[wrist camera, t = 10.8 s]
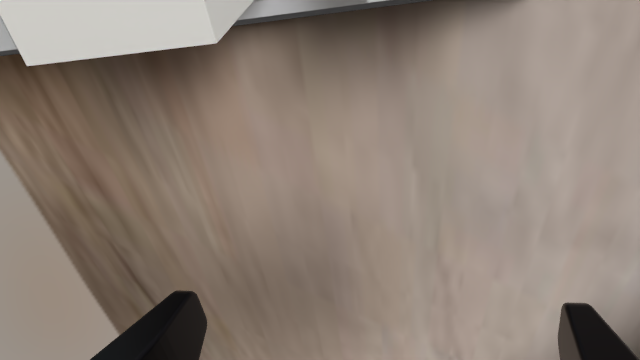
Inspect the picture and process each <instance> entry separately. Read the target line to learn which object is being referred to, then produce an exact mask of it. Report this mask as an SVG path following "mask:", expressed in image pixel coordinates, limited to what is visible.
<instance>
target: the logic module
mask: <svg viewBox="0 0 640 360" xmlns="http://www.w3.org/2000/svg"><path fill="white" fill-rule="evenodd" d="M253 1H254V0H0V16H1V17H2V19H3V21H4V23H5V25H6V27H7V29H8V31H9V33H10V35H11V37H12V39H13V40H14V42H15V44H16V46H17V48H18V50H19V52H20V54H21V56H22V58H23V60H24V62H25V64H26V65H27V66H34V65H42V64H50V63H58V62H67V61H75V60H83V59H92V58H100V57H108V56H116V55H125V54H133V53H141V52H150V51H158V50H166V49H174V48H183V47H191V46H199V45H207V44H216V43H218V41H219V40H220V39H221V38H222V37H223V36H224V34H225V33H226V32H227V31H228V30H229V29H230V28H231V26H232V25H233V24H234V23H235V22H236V21H237V19H238V18H239V17H240V16H241V15H242V14H243V12H244V11H245V10H246V9H247V8H248V7H249V6H250V4H251V3H252V2H253Z"/></svg>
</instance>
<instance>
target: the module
mask: <svg viewBox="0 0 640 360" xmlns="http://www.w3.org/2000/svg"><path fill="white" fill-rule="evenodd" d="M13 49H17V46H16V44H15V42H14V40H13V39H12V37H11V35H10V33H9V31H8V29H7V27H6V25H5V23H4V21H3V19H2V17H1V16H0V51H5V50H13Z"/></svg>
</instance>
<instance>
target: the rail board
mask: <svg viewBox="0 0 640 360" xmlns="http://www.w3.org/2000/svg"><path fill="white" fill-rule="evenodd" d="M423 1H431V0H385V1H378V2H370V3H368V2H367V0H254V1H253V2H252V3H251V4H250V6H249V7H248V8H247V9H246V10H245V11H244V12H243V14H242V15H241V16H240V17H239V18H238V19H237V21H236V22H235V23H234V24H233V25H232V26H237V25H245V24H253V23H261V22H268V21H276V20H284V19H292V18H299V17H307V16H315V15H323V14H330V13H338V12H346V11H354V10H361V9H369V8H377V7H385V6H392V5H400V4H408V3H416V2H423ZM12 54H20V52H19V50H18V48H17V49H13V50H5V51H0V56H5V55H12Z"/></svg>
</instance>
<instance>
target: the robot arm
mask: <svg viewBox="0 0 640 360" xmlns="http://www.w3.org/2000/svg"><path fill="white" fill-rule="evenodd" d="M206 329H207V319H206V316H205V313H204V311H203V308H202V306H201V303H200V301H199V299H198V296H197V294H196V293H195V292H193V291H175V292H173V293H172V294H170V295H169V296H168V297H167V298H165V299H164V300H163V301H162V302H160V303H159V304H158V305H157V306H156V307H154V308H153V309H152V310H151V311H149V312H148V313H147V314H146V315H144V316H143V317H142V318H141V319H140V320H138V321H137V322H136V323H135V324H133V325H132V326H131V327H130V328H128V329H127V330H126V331H125V332H123V333H122V334H121V335H120V336H119V337H117V338H116V339H115V340H114V341H112V342H111V343H110V344H109V345H108V346H106V347H105V348H104V349H103V350H101V351H100V352H99V353H98V354H96V355H95V356H94V357H93V358H91V359H90V360H199V357H200V353H201V349H202V345H203V341H204V337H205V333H206ZM558 346H559V354H560V360H639V359H638V358H637V357H636V356H635V354H634V353H633V352H632V351H631V350H630V349H629V348H628V347H627V345H626V344H625V343H624V342H623V341H622V340H621V339H620V338H619V336H618V335H617V334H616V333H615V332H614V331H613V330H612V329H611V328H610V326H609V325H608V324H607V323H606V322H605V321H604V320H603V319H602V317H601V316H600V315H599V314H598V313H597V312H596V311H595V310H594V308H593V307H592V306H590V305H589V304H586V303H565V304H563V306H562V309H561V317H560V324H559V331H558Z"/></svg>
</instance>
